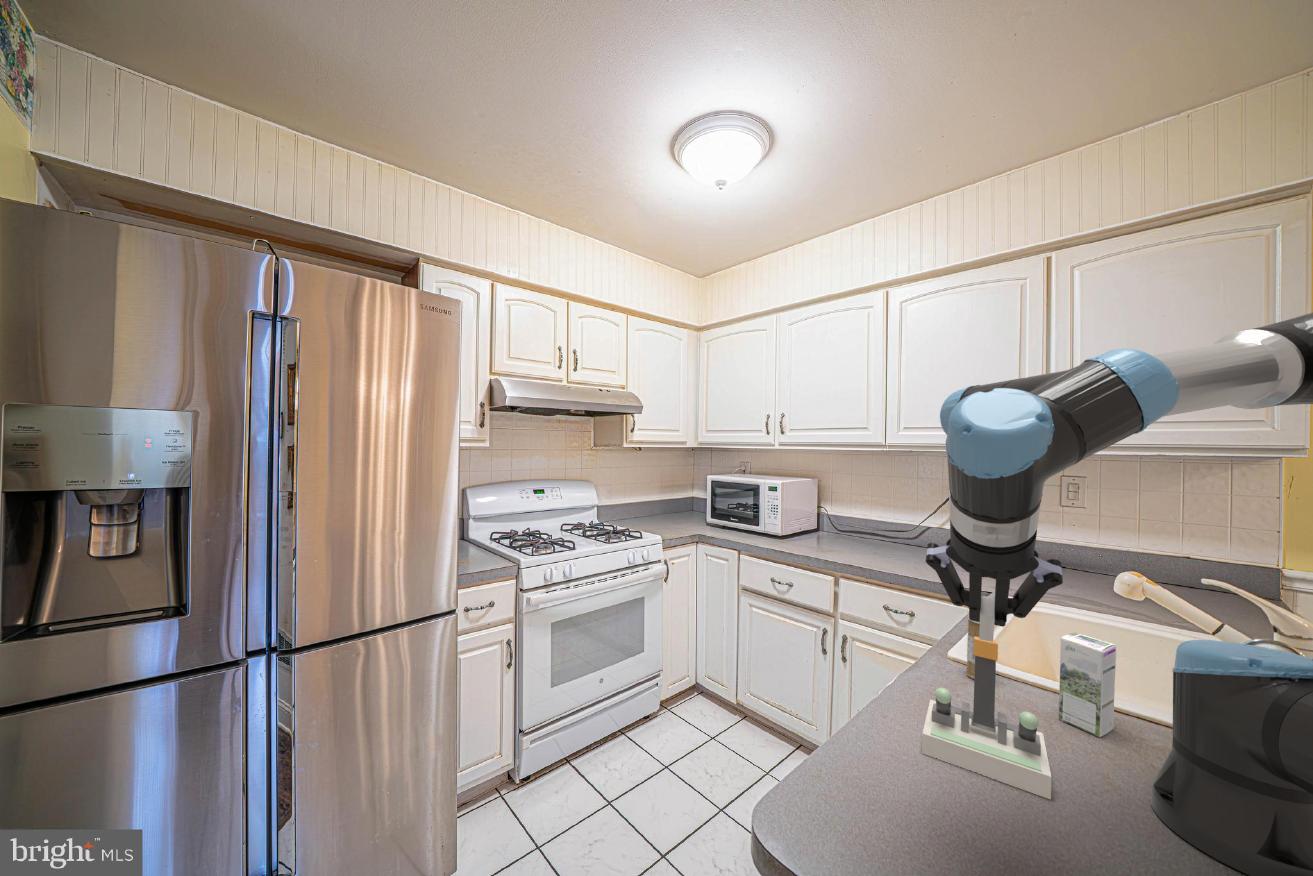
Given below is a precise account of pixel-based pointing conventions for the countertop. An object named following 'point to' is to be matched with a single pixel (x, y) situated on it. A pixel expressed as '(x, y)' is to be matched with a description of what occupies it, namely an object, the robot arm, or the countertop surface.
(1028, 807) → the countertop surface
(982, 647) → the breaker lever
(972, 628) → the sprinkles bottle
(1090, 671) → the syrup box
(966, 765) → the lever control panel
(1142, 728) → the countertop surface
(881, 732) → the countertop surface
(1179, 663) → the robot arm
